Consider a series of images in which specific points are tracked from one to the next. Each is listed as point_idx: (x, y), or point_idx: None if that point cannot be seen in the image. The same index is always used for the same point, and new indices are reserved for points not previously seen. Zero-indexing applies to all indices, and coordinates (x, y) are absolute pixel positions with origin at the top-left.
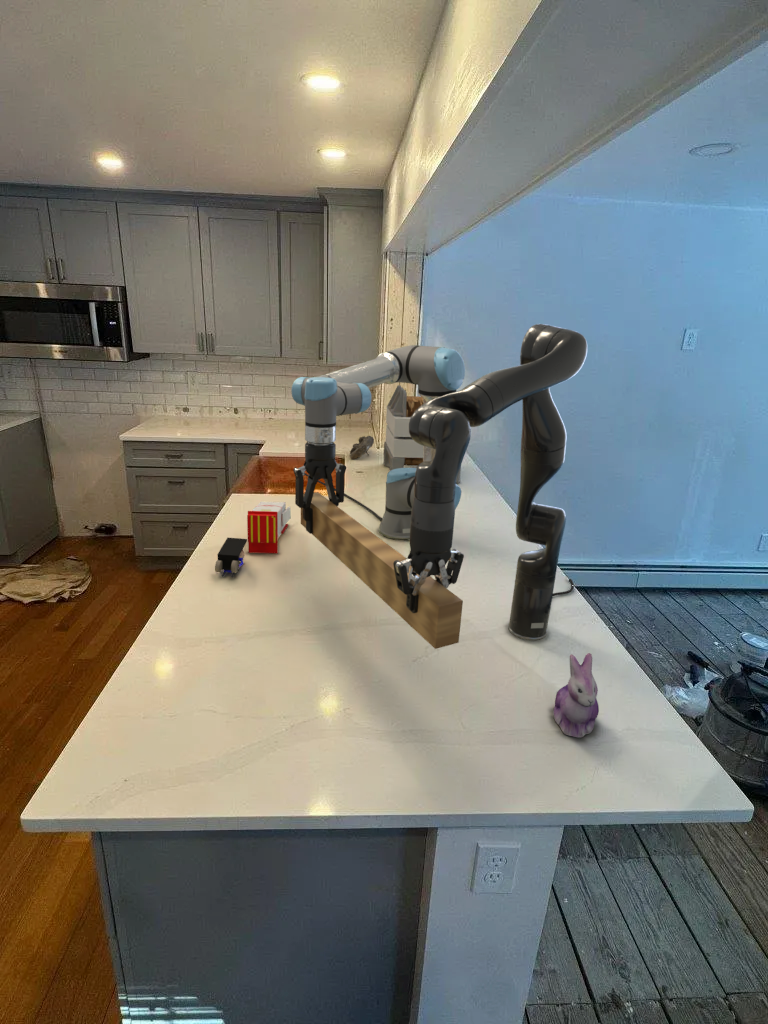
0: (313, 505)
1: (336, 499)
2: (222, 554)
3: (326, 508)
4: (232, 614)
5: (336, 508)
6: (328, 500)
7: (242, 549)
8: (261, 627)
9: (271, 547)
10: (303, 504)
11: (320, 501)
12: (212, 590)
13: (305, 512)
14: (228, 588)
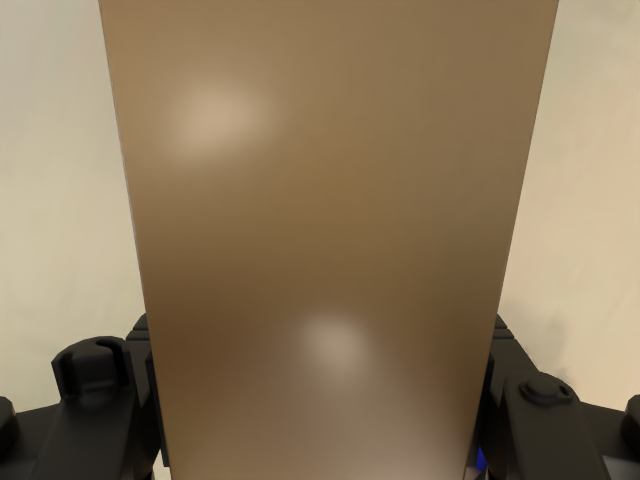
0: (477, 387)
1: (48, 443)
2: None
3: (378, 139)
4: (622, 172)
5: (179, 52)
6: (181, 472)
7: (477, 476)
8: (590, 42)
9: None
10: (616, 445)
11: (315, 471)
12: (595, 335)
13: (524, 360)
14: (550, 329)
